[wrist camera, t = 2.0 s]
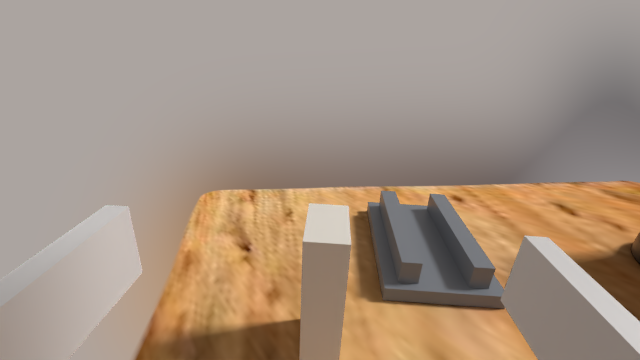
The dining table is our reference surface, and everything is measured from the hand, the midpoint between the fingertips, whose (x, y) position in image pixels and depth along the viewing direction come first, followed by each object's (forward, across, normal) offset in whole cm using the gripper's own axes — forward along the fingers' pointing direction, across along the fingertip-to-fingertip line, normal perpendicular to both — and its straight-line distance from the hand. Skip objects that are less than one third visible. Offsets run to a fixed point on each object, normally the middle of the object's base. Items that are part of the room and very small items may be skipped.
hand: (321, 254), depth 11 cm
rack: (+24, +12, -16) cm, 32 cm away
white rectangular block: (+10, 0, -17) cm, 19 cm away
